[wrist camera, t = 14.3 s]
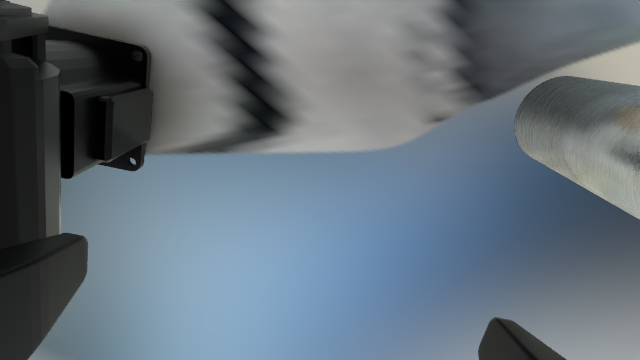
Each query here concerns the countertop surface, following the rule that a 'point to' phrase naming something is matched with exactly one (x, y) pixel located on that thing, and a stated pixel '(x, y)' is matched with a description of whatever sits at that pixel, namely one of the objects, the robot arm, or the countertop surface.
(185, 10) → the countertop surface
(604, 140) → the capped cylinder
